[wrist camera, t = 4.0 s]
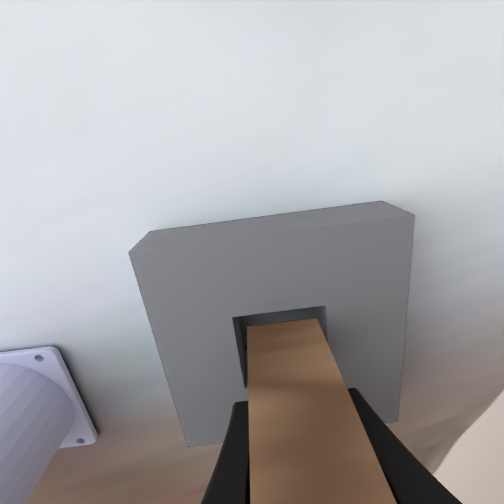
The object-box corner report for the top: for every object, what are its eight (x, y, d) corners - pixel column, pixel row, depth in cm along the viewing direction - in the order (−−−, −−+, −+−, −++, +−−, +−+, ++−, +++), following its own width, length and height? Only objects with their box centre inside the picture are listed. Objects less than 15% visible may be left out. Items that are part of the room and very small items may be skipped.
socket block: (202, 427, 20) (172, 646, 11) (149, 231, 15) (21, 358, 6) (373, 406, 20) (476, 612, 11) (381, 200, 15) (583, 287, 6)
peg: (255, 381, 14) (268, 642, 7) (246, 326, 13) (252, 565, 6) (319, 373, 14) (406, 628, 7) (316, 317, 13) (415, 547, 6)
